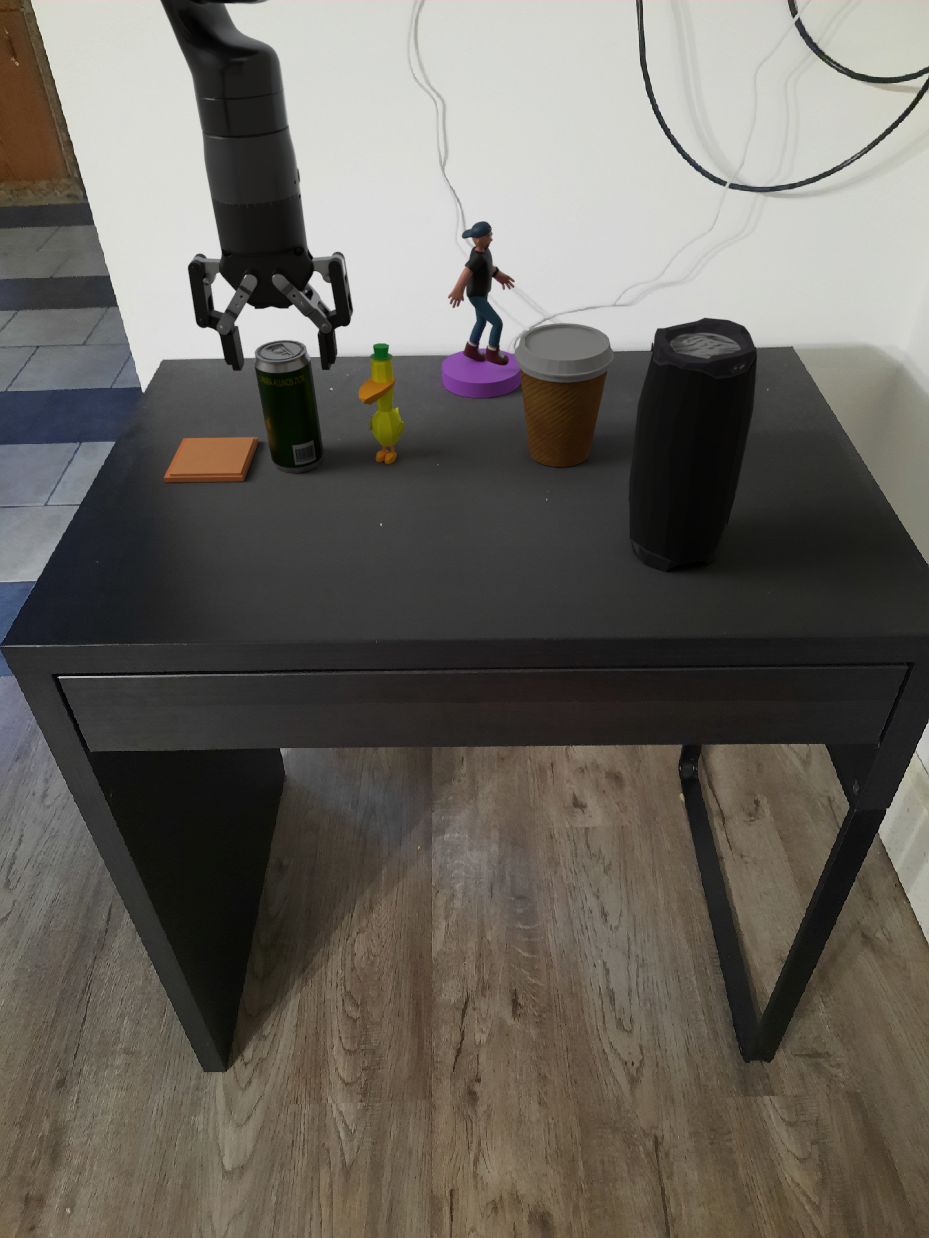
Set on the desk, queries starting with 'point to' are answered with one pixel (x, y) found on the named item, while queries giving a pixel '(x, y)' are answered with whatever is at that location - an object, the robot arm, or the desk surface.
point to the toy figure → (382, 402)
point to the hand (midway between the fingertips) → (283, 367)
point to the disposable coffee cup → (562, 389)
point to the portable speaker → (690, 440)
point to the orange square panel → (212, 460)
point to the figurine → (481, 328)
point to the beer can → (289, 405)
